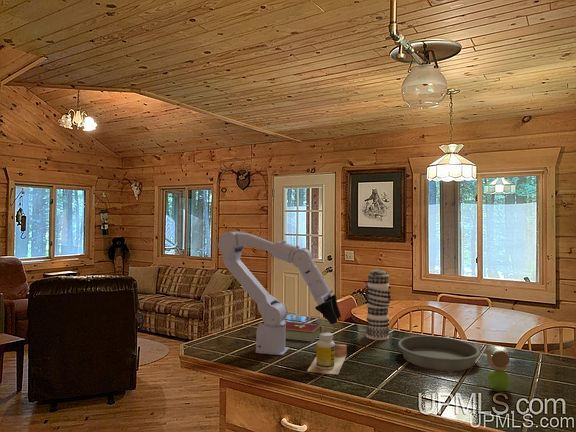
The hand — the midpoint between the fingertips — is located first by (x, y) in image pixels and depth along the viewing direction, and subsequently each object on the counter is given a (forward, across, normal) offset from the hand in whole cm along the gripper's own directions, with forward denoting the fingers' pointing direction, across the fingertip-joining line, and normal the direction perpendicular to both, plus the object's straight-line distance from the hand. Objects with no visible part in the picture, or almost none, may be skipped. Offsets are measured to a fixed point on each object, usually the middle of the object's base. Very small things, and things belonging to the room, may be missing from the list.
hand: (336, 320), depth 138 cm
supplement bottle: (+9, -10, +7) cm, 16 cm away
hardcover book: (0, +22, +24) cm, 33 cm away
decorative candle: (+16, +30, -4) cm, 34 cm away
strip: (+9, -6, +7) cm, 13 cm away
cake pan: (+26, +8, -21) cm, 35 cm away
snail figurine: (+33, -14, -32) cm, 48 cm away
